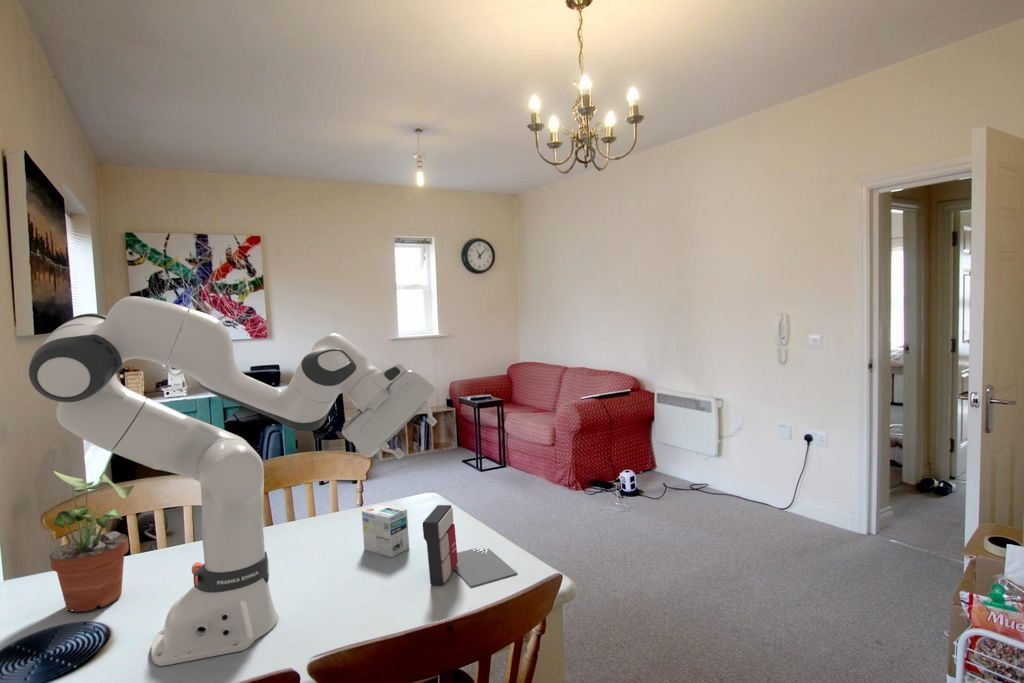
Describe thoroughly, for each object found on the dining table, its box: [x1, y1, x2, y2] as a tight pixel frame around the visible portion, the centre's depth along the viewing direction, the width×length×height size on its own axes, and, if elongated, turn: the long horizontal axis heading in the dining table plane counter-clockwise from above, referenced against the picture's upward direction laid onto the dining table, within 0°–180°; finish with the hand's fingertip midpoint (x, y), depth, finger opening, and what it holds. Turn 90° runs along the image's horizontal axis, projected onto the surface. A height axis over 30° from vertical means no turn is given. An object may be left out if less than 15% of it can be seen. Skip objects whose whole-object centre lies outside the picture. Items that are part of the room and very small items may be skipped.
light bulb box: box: [361, 503, 410, 558], centre depth 151 cm, size 11×7×11 cm, turn 58°
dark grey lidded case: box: [422, 504, 458, 586], centre depth 135 cm, size 11×4×15 cm, turn 168°
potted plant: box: [49, 468, 134, 612], centre depth 128 cm, size 16×15×35 cm
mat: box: [453, 547, 518, 588], centre depth 140 cm, size 12×18×1 cm, turn 28°
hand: (418, 440), depth 118 cm, fingers open, 8 cm apart
